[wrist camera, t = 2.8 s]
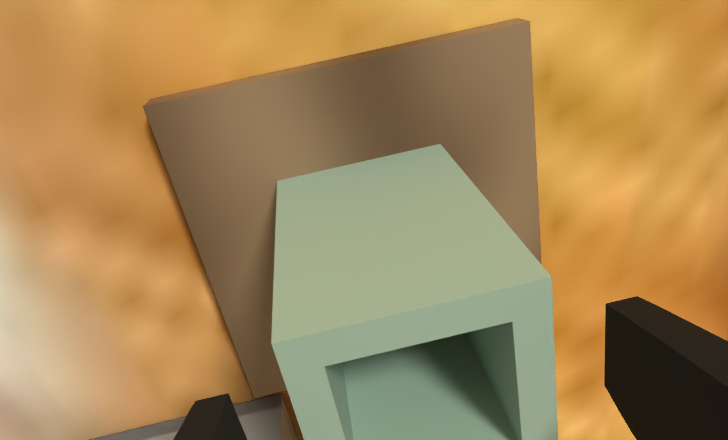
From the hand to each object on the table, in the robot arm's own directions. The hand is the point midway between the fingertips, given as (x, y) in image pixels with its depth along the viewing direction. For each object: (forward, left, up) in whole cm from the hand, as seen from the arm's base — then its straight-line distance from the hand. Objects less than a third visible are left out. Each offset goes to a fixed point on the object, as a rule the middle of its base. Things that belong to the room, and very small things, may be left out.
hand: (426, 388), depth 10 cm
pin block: (0, 0, -7) cm, 7 cm away
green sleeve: (0, 0, -6) cm, 6 cm away
